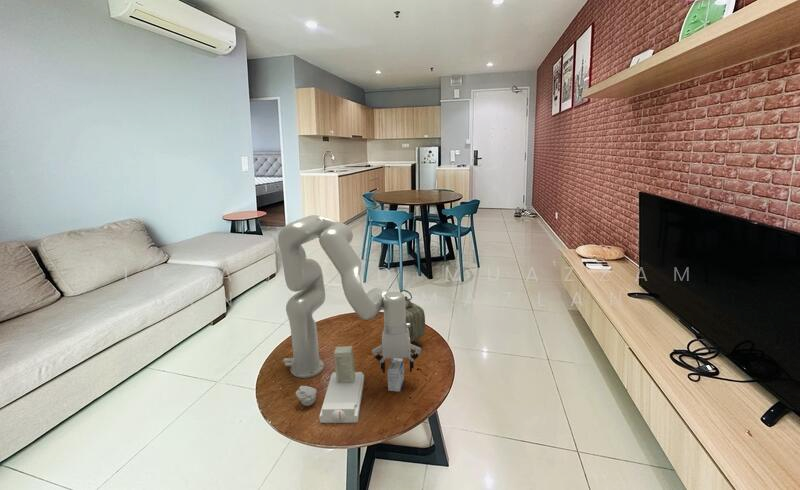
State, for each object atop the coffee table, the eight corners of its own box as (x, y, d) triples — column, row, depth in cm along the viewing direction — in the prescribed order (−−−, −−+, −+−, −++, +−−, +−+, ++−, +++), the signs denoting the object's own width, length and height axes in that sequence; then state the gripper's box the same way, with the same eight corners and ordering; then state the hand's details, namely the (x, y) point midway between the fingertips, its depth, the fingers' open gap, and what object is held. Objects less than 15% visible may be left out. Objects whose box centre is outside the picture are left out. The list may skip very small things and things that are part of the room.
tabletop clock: (425, 346, 165) (425, 292, 158) (410, 354, 159) (409, 298, 153) (402, 334, 175) (401, 283, 169) (387, 341, 170) (386, 288, 163)
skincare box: (355, 375, 139) (353, 345, 136) (353, 383, 135) (352, 352, 132) (337, 376, 139) (335, 346, 136) (335, 383, 135) (333, 352, 132)
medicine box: (400, 392, 135) (399, 370, 133) (387, 391, 136) (387, 369, 134) (404, 379, 143) (404, 358, 140) (392, 377, 144) (392, 357, 141)
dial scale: (319, 423, 121) (318, 410, 119) (331, 380, 142) (331, 368, 141) (357, 423, 121) (356, 409, 119) (364, 380, 142) (363, 368, 141)
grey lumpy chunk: (295, 401, 131) (293, 384, 129) (316, 396, 134) (314, 378, 132) (298, 412, 126) (296, 394, 124) (319, 406, 129) (318, 388, 127)
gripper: (419, 321, 137) (421, 363, 141) (371, 323, 137) (374, 365, 141) (420, 331, 129) (422, 375, 134) (369, 333, 130) (372, 377, 134)
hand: (397, 370), depth 138 cm, fingers open, 9 cm apart
